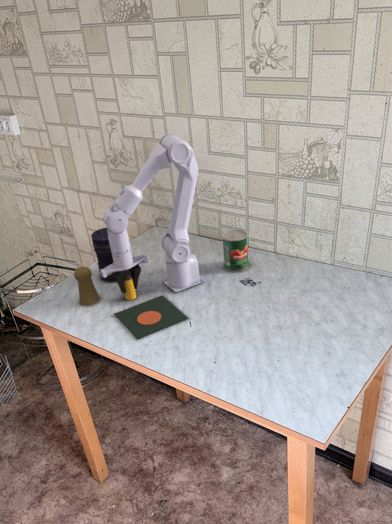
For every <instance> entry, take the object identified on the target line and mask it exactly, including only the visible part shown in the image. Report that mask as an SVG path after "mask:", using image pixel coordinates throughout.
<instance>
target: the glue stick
mask: <svg viewBox="0 0 392 524" xmlns="http://www.w3.org/2000/svg"><path fill="white" fill-rule="evenodd" d="M121 274H122V275H123V276H124V286H125V290H126V293H125V294H124V298H125V300H126V301H133V300H135V299H136V298H137V293H136V290H135V287H134V282H133V276H132V272H131V271H129V270H126V271H122V272H121Z"/></svg>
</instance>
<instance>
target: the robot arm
mask: <svg viewBox="0 0 392 524" xmlns="http://www.w3.org/2000/svg"><path fill="white" fill-rule="evenodd" d="M171 163H172V164H173V165H174V167H175V169H176V170H177V171H178V176H177V182H176V189H175V195H174V201H173V206H172V212H171V219H170V225H169V226H168V227H167V228H166V230H165V231H166V232H165V234H164V236H163V237H162V239H161V247H162V250H164V252H165V257H164V260H165V267H166V274H167V280H165V281H163V283H164V285H166V286H167V287H168V288H169V289H170V290H172V291H173V292H174V293H178V292H181V291H183V290H186V289H188V288H191V287H194V286H197V285H199V284H201V283H202V281H201V278H200V269H199V263H198V259H197V257H196V256H195V255H194V253H192V252H191V250H190V249H191V248H190V246H189V245H190V237H189V232H188V229H189V224H190V218H191V213H192V209H193V202H194V197H195V194H196V193H195V191H196V187H197V181H198V177H199V165H198V163H197V160H196V156H195V150H194V149H193V148H192V146H191V145H190V144H189V143H188V142H187V141H185V140H183V139H182V138H180V137H179V136H178V135H177V134H175V133H172V132H169V133H165V134H164V135H162V136H161V138H160V140H159V142H157V143H156V144H155V145H154V147H153V149H152V151H151V153H150V155H149V156H148V158H147V160H146V162H145V163H144V164H143V166H142V167H141V169H140V171H139V172H138V174H137V176H136V178H134V180H133V182H132V183H131V184H128V185H127V184H126V185H125V186H124V188H120V189H119V190H118V193H119V195H118V196H117V197H116V198H115V200H114V201H113V203H110V205H109V208H107V209H106V210H105V211H104V212H103V214H102V216H103V217H102V222H103V224H104V225H105V226H106V228H107V233H108V239H109V243H110V248H111V252H112V257H113V261H114V263H112V264H111V265H109V266H107V267H105V268H103V269H101V270H100V272H101V274H100V277H101V276H102V277H103V278H105V277H107V276H108V275H110V274H111V275H112V276H113V278H114V279H115V280H116V282H115V283H116V284H117V285H118V287H119V289H120V292H121V293H122V294H123V295H125V293H126V290H125V286H124V276H123V275H122V274H121V273H120V271H122V270H127V269H129V271H131V272H132V276H133V282H134V287H135V291H136V290H138V283H139V278H140V274H141V272H142V266H140V265H142V264H147V263H149V260H148V256H147V255H146V254H142V255H136V256H133V252H132V247H131V243H130V237H129V233H128V229H127V228H128V225H129V219H130V218H131V216H132V215H133V213H134V212H135V211H136V209H137V208H138V207H139V205H140V204H141V202H142V201H143V192H144V191H145V189H146V188H147V187H148V186H149V184H150V183H151V181H153V179H154V178H155V177H156V175H157V174H158V173H159V172H160V171H161V170H164V169H171V168H172V167H173V166H172V164H171ZM100 272H99V273H100Z"/></svg>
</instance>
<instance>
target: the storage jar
mask: <svg viewBox="0 0 392 524" xmlns="http://www.w3.org/2000/svg"><path fill="white" fill-rule="evenodd" d="M90 237H91V242H92V247H93V251H94V253H95V255H96V259H97V266H98V271H99V274H100V278H101V280H102V281H103V282H106V283H117V282H116V280H115V279H114V278H113V276H112V275H111V274H110V275H108V276H107V277H105V278H103V277H102V276H101V272H100V270H101V269H103V268H105V267H107V266H109V265H111V264H112V263H114V261H113V257H112V252H111V248H110V243H109V239H108V233H107V227H102V228H99V229H97V230H94V232H92V233H91V235H90ZM127 270H129V269H127ZM122 271H126V270H122ZM122 271H120V273H121V272H122Z"/></svg>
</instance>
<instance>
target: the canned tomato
mask: <svg viewBox="0 0 392 524" xmlns="http://www.w3.org/2000/svg"><path fill="white" fill-rule="evenodd" d="M221 238H222V250H223V265H224V269H225V270H226V271H228V272H231V273H238V272H243V271H245V270H247V269H248V268H249V266H250V265H249V248H248V247H249V245H248V233H247V232H246V231H244V230H241V229H232V230H228V231H225V232H223V234H222V235H221Z"/></svg>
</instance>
